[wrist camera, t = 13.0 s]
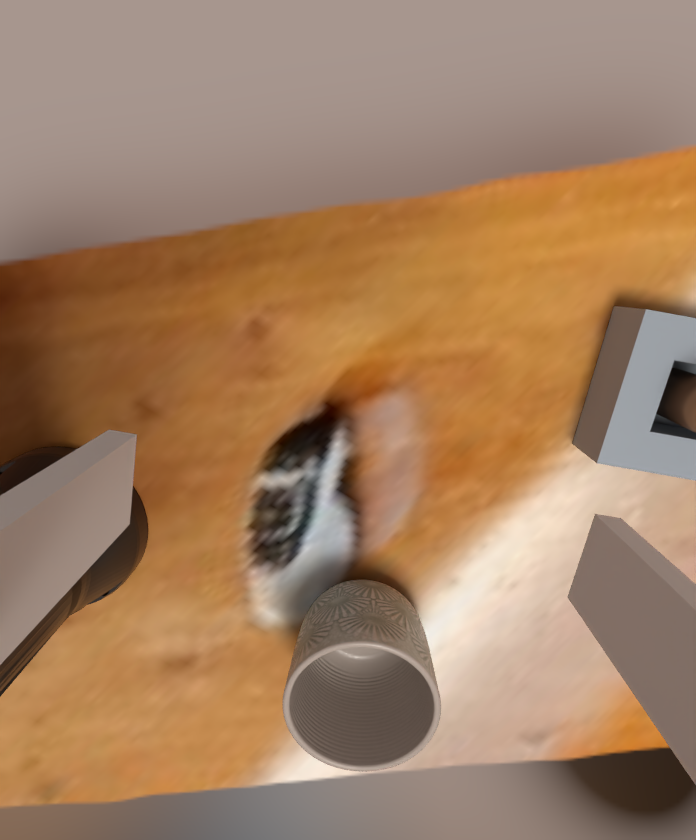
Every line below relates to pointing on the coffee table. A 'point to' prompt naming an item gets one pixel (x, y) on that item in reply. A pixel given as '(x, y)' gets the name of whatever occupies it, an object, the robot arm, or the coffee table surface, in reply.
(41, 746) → the coffee table surface
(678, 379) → the dowel
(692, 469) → the socket
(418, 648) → the planter
